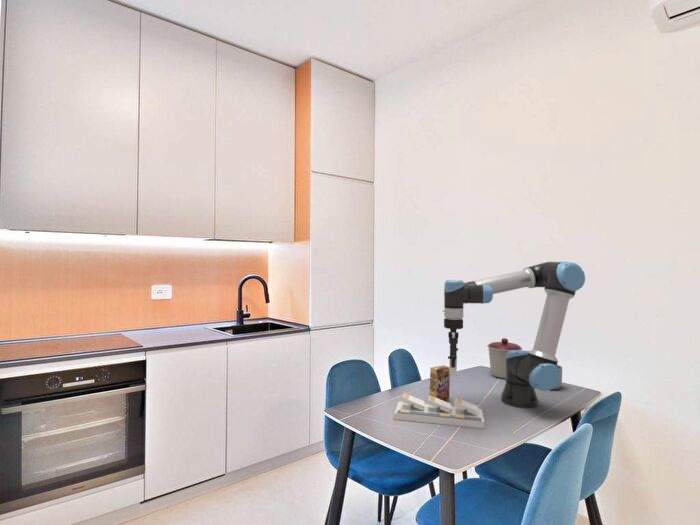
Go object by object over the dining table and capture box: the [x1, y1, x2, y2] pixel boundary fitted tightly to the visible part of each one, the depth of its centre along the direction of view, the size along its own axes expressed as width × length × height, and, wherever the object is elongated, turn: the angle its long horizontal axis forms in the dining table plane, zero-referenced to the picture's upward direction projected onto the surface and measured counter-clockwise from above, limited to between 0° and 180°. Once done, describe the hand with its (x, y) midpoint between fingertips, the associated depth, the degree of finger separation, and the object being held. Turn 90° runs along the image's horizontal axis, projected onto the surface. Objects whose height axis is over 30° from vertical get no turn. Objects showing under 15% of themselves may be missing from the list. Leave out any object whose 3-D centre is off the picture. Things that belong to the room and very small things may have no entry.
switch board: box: [393, 401, 485, 429], centre depth 166 cm, size 34×14×4 cm, turn 77°
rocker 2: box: [427, 395, 452, 413], centre depth 166 cm, size 9×7×2 cm
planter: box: [550, 364, 563, 391], centre depth 207 cm, size 12×12×11 cm
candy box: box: [428, 365, 451, 402], centre depth 185 cm, size 9×4×15 cm, turn 123°
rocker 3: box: [453, 397, 479, 415], centre depth 164 cm, size 9×7×2 cm
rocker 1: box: [400, 392, 426, 410], centre depth 169 cm, size 9×7×2 cm
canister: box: [486, 337, 523, 380], centre depth 226 cm, size 18×18×21 cm
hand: (453, 370), depth 166 cm, fingers open, 13 cm apart
